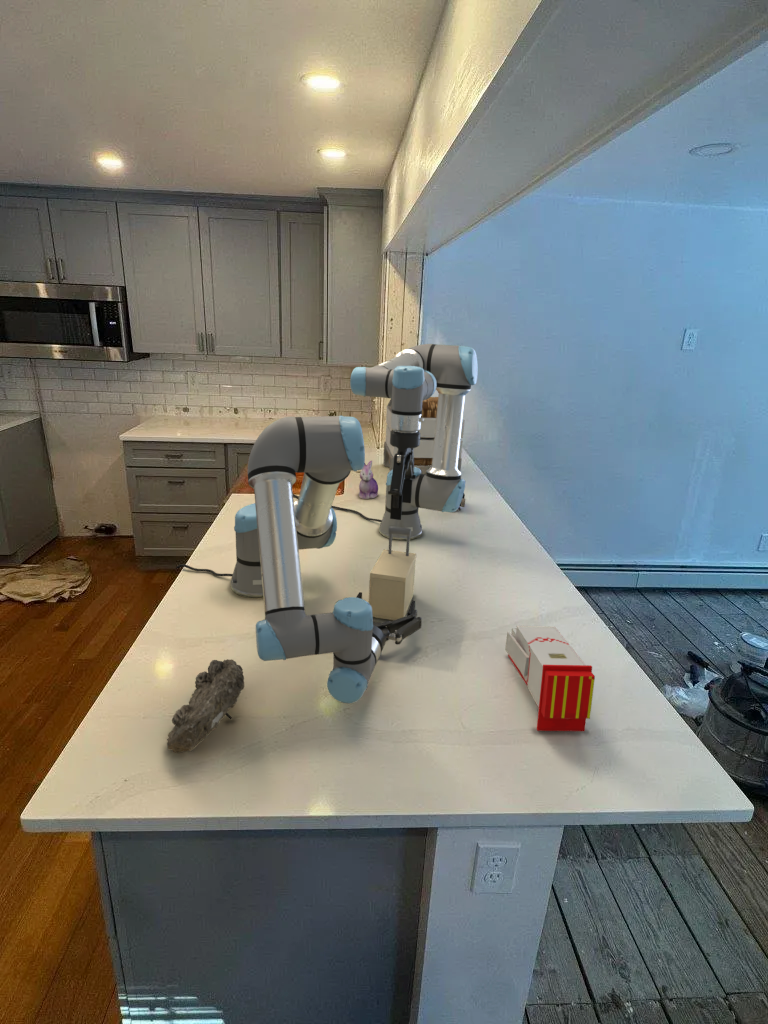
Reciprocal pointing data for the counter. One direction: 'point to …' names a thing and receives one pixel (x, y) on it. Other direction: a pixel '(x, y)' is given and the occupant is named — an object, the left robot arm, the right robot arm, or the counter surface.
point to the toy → (552, 677)
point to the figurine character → (462, 502)
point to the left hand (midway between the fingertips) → (386, 601)
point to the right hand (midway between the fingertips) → (401, 510)
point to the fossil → (206, 705)
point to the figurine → (367, 483)
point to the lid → (394, 559)
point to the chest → (391, 596)
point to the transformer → (427, 434)
